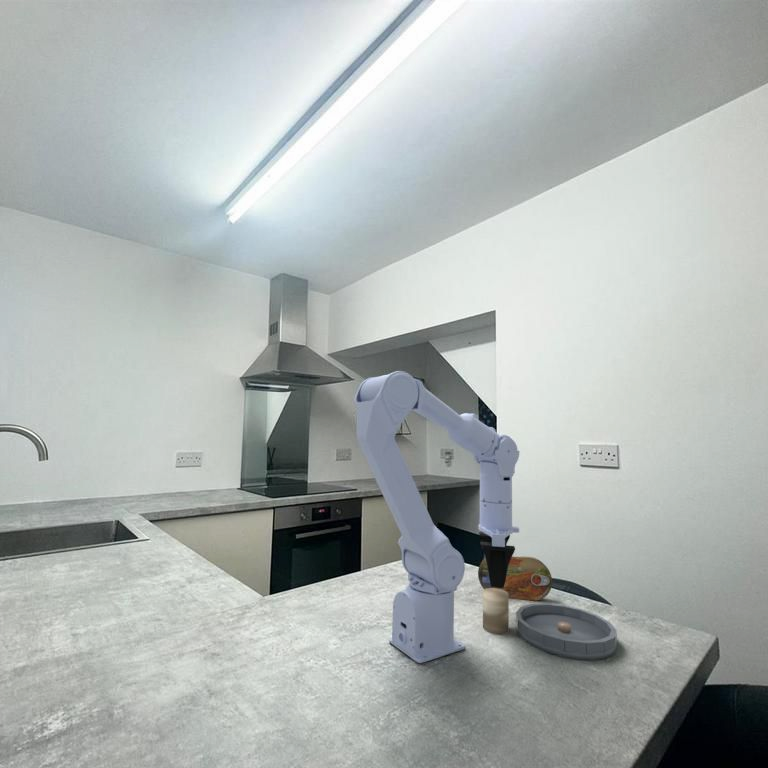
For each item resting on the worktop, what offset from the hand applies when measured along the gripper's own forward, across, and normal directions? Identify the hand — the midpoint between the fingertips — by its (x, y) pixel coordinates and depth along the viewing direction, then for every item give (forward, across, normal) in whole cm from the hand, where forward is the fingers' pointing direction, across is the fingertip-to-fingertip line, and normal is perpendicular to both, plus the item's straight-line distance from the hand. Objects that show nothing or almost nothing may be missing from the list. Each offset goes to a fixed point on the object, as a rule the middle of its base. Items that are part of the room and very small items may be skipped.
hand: (495, 579), depth 75 cm
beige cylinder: (+8, 0, 0) cm, 8 cm away
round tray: (+8, 0, -11) cm, 14 cm away
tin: (+8, +18, -5) cm, 20 cm away
